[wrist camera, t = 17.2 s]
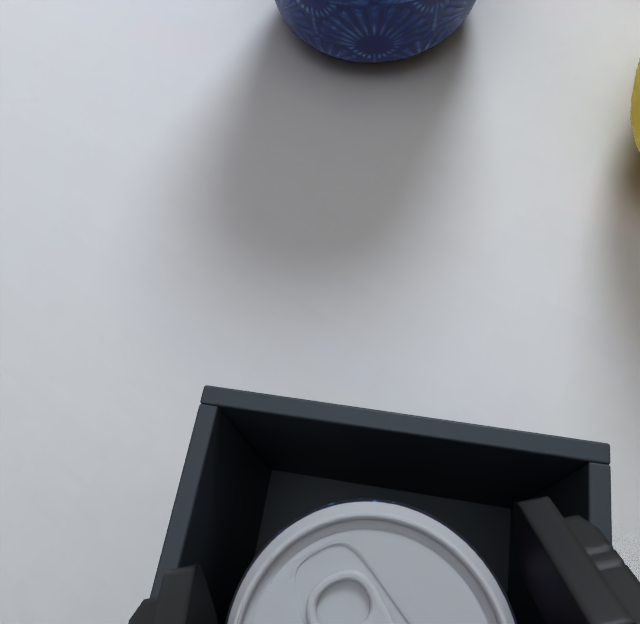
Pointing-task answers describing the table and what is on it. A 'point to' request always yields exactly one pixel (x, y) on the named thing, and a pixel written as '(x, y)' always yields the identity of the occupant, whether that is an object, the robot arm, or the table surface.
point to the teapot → (636, 108)
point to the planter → (373, 25)
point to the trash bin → (365, 481)
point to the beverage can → (369, 571)
